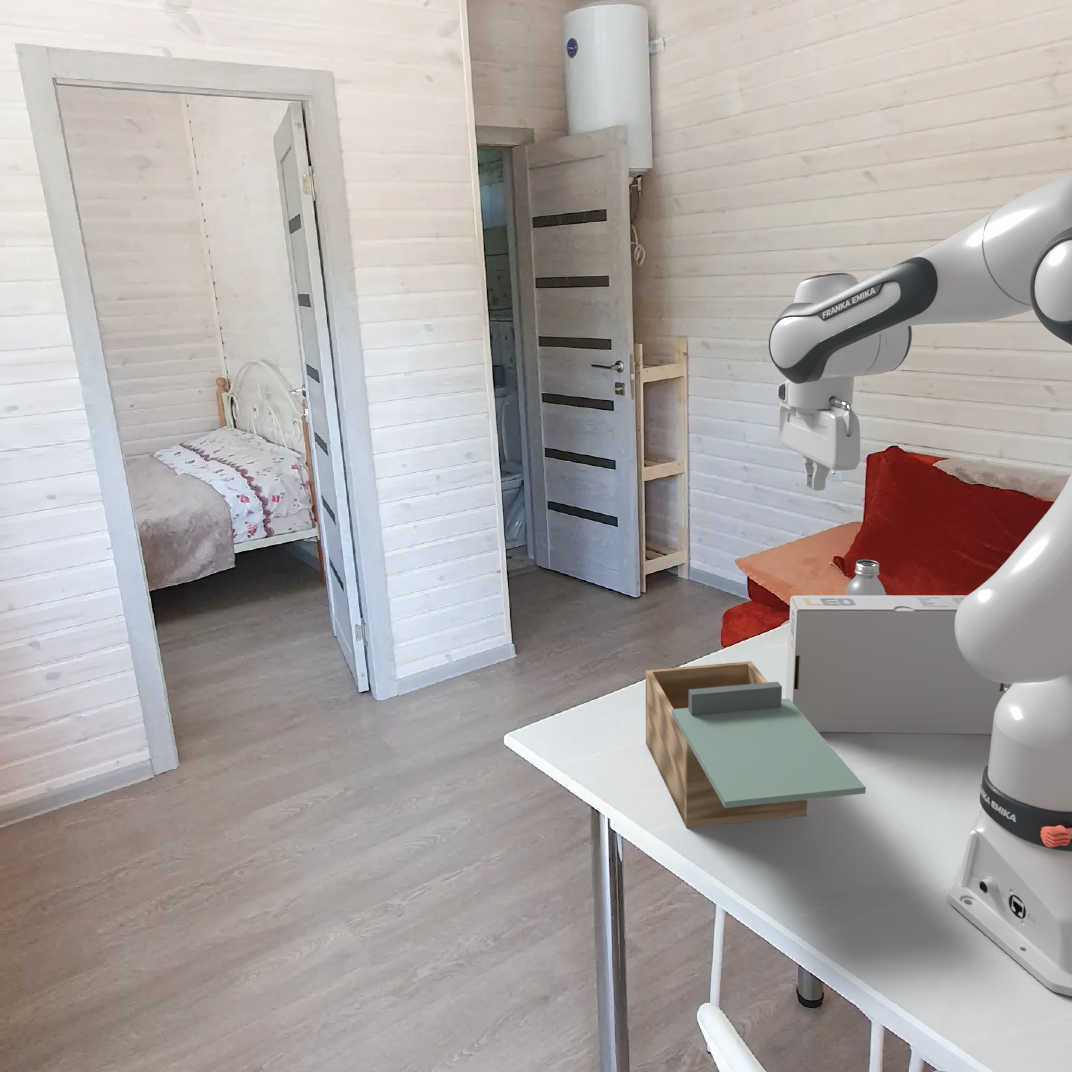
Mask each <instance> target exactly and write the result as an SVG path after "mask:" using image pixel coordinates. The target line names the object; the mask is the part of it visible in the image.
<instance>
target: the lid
mask: <svg viewBox="0 0 1072 1072" xmlns="http://www.w3.org/2000/svg"><path fill="white" fill-rule="evenodd" d="M768 682H769V681H768ZM782 692H783V686H782V685H781V684H780V682H779V681H770V682H769V683H757V684H746V685H735V686H723V687H712V688H701V689H690V690H689V702H688V708H680V709H672V716H673V717H674V719H675V721H676V723H677V725H678V726H679V728H680V730H681V732H682V733H683V735H684V737H685V739H686V740H687V742H688V744H689V746H690V747H691V749H692V751H693V753H694V754H695V756H696V758H697V760H698V762H699V763H700V765H701V767H702V769H703V770H704V772H705V774H706V776H707V777H708V779H709V781H710V783H711V784H712V786H713V788H714V790H715V791H716V793H717V795H718V797H719V799H720V800H721V802H722V804H723V806H724V807H725V808H730V807H740V806H750V805H759V804H769V803H779V802H788V801H798V800H807V801H808V800H815V799H826V798H827V799H828V798H836V797H845V796H855V795H865V794H866V788H867V787H866V786H865V784H863V782H862V781H861V780H860V779H859V778H858V776H856V774H855V773H854V772H853V771H852V770H851V768H850V767H849V766H848V765H847V764H846V763H845V761H844V760H843V759H842V758H841V757H840V756H839V754H838V753H837V752H836V751H835V750H834V749H833V748H832V746H831V744H829V743H828V742H827V741H826V739H825V738H824V737H823V736H822V735H821V734H820V732H818V731H817V730H816V729H815V728H814V727H813V726H812V724H811V723H810V722H809V721H808V720H807V719H806V717H805V716H804V715H803V714H802V713H801V712H800V711H799V709H798V708H797V707H796V706H795V705H794V704H793V702H792V701H791V700H790V699H786V698H783V697H782V696H783V695H782V694H783V693H782ZM781 698H782V699H781Z"/></svg>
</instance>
